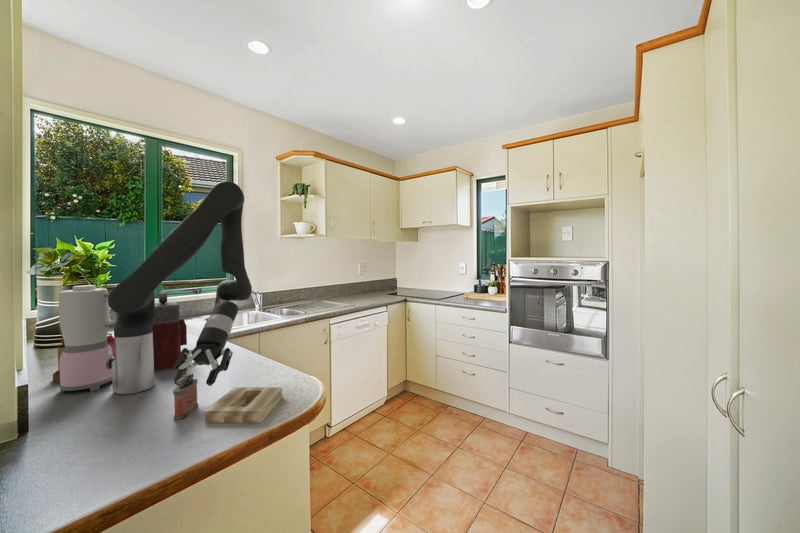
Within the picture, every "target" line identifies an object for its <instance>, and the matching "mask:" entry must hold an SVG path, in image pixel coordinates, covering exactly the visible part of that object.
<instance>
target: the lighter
mask: <svg viewBox="0 0 800 533" xmlns="http://www.w3.org/2000/svg"><path fill="white" fill-rule="evenodd" d="M176 384H177V385H176ZM176 384H175V385H176V387H174V389H173V390H172V394H173V396H174V400H173V401H174V415H173V420H174V421H176V422H177V421H182V420H185V419H187V418H188V417H190V416H191V415H192V414H193V413H194V412H195V411H197V409H198V408H199V403H198V379H197V378H194V372H189V373H187V374H186V375H183V376H182V378H180V379H179V380H177V382H176Z"/></svg>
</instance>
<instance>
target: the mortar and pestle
mask: <svg viewBox="0 0 800 533" xmlns="http://www.w3.org/2000/svg"><path fill="white" fill-rule="evenodd" d="M58 333H59V334H60V335H61V338H60V343H61V345H59V346H57V367H58V368H57V369H58V370H56V371H55V372H54V373H53V374H52V382H54V383H60V368H59V360H60V357H61V354H62V353H63V351H64V348H65V343H64V339H63V336H62V332H61V328H60V327H59V328H58Z"/></svg>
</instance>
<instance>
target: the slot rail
mask: <svg viewBox="0 0 800 533" xmlns="http://www.w3.org/2000/svg"><path fill="white" fill-rule="evenodd" d="M282 398H283V387H277V386H274V387H267V386H266V387H265V386H263V387H260V386H259V387H251V386H249V387H248V386H247V387H245V386H244V387H243V386H241V387H237V386H236V387H233V388H232V389H230V390H229V391H228V392H227V393H225V394H224V395H223V396H222V397H220V398H219V399H217V401H215V402H214V403H213V404H211V405H210V406H209V407H207V408H206V410H204V423H205V424H207V423H215V424H219V423H221V424H224V423H226V424H227V423H228V424H232V423H235V424H239V423H240V424H242V423H243V424H247V423H249V424H252V423H253V424H254V423H255V424H256V423H257V424H261V423H262V422H264V420H265V419H266V418H267V416H268V415H269V414H270V413H271V412H272V410H273V409H274V408H275V407H276V406H277V405H278V403H279V402H280V401H281V400H282ZM246 402H250V403H248V405H246V406H243V405H244V404H246Z"/></svg>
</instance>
